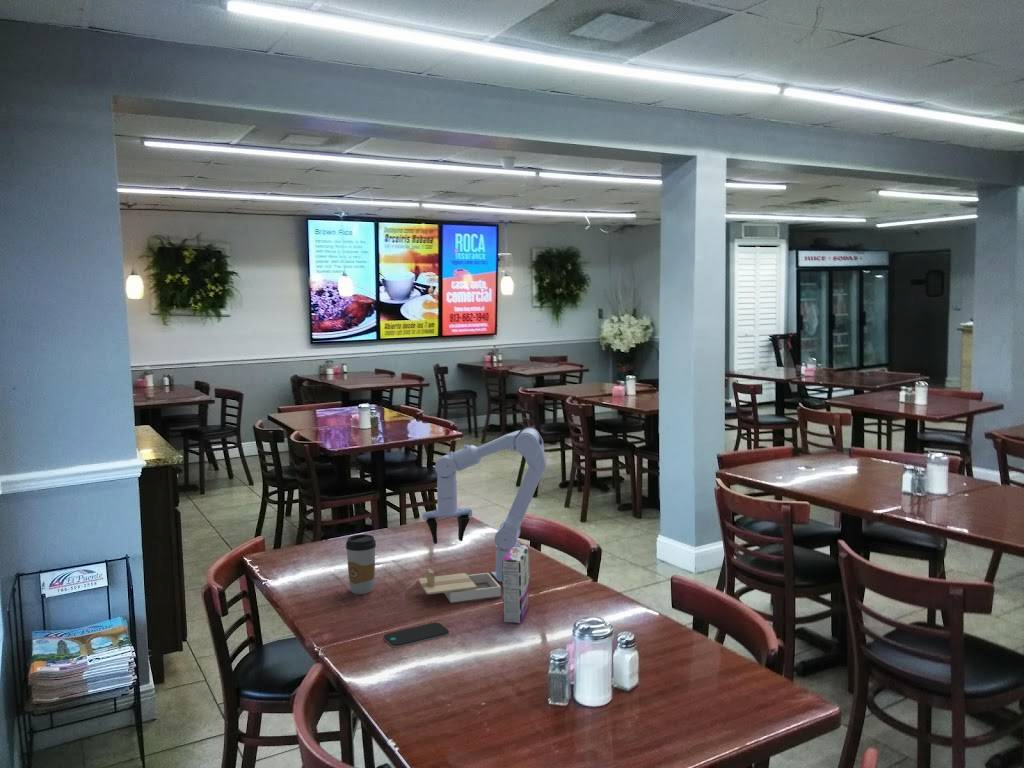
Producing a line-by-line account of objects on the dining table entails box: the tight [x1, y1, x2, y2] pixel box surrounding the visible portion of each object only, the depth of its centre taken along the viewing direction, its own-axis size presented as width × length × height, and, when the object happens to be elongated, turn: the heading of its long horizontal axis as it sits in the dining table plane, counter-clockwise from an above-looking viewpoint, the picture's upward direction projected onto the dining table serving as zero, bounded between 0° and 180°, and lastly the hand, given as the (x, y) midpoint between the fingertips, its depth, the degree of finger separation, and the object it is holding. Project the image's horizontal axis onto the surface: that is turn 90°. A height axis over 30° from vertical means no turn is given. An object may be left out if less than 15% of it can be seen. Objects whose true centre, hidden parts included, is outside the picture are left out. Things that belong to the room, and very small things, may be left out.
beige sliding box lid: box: [417, 568, 477, 595], centre depth 215 cm, size 14×12×4 cm
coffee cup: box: [345, 534, 377, 595], centre depth 220 cm, size 8×8×15 cm
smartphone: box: [383, 622, 450, 648], centre depth 190 cm, size 8×1×15 cm
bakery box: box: [443, 572, 502, 605], centre depth 218 cm, size 14×12×3 cm
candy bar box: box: [502, 546, 530, 624], centre depth 201 cm, size 11×5×16 cm, turn 168°
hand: (447, 541), depth 232 cm, fingers open, 7 cm apart
